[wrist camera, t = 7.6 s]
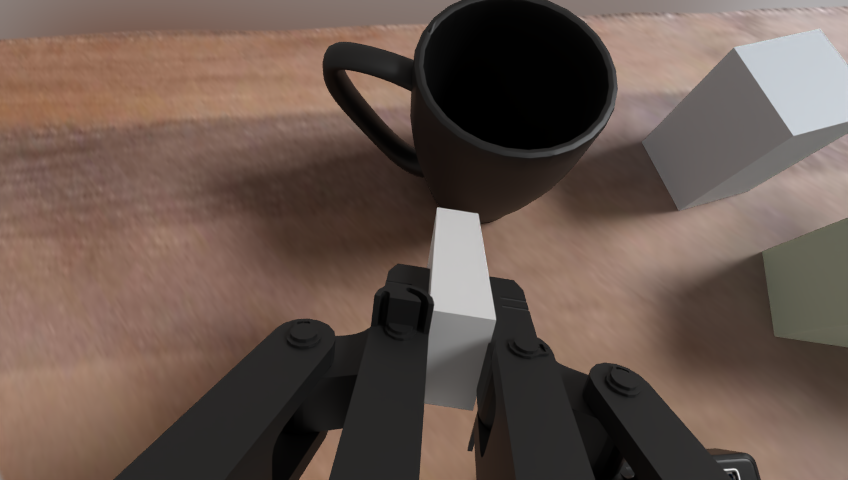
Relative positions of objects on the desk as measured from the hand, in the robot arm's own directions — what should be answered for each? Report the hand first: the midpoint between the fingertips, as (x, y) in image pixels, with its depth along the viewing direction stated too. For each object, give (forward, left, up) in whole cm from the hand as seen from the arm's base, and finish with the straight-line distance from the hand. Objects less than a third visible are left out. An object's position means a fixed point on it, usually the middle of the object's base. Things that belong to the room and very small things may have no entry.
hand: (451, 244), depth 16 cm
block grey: (-18, -6, -8) cm, 20 cm away
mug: (-2, -7, -8) cm, 11 cm away
